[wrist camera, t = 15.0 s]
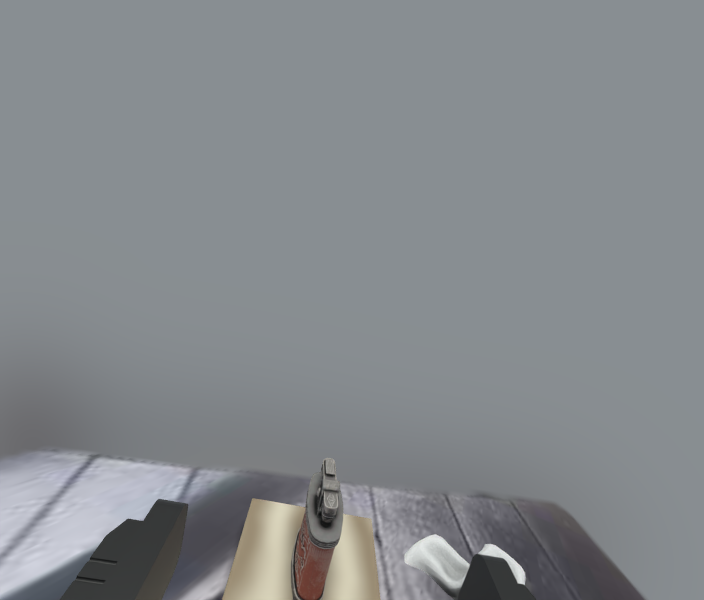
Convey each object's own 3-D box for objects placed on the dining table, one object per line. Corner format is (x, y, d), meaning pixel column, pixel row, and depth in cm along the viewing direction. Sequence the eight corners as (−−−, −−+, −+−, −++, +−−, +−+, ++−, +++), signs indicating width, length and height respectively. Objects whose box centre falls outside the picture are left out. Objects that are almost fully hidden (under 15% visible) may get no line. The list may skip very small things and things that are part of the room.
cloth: (418, 731, 29) (440, 675, 27) (380, 531, 47) (392, 491, 45) (655, 742, 32) (685, 692, 30) (533, 550, 50) (549, 514, 48)
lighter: (326, 613, 31) (354, 518, 29) (287, 610, 30) (312, 513, 28) (324, 532, 39) (346, 453, 37) (293, 529, 38) (313, 448, 36)
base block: (362, 546, 43) (371, 518, 42) (374, 699, 29) (387, 663, 29) (246, 526, 42) (252, 498, 41) (202, 677, 28) (210, 639, 27)
